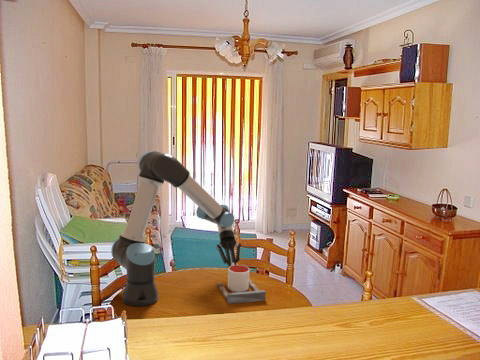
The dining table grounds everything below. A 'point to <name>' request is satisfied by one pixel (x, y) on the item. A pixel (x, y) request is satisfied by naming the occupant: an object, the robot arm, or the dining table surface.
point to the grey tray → (243, 294)
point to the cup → (238, 278)
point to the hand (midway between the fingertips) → (234, 276)
